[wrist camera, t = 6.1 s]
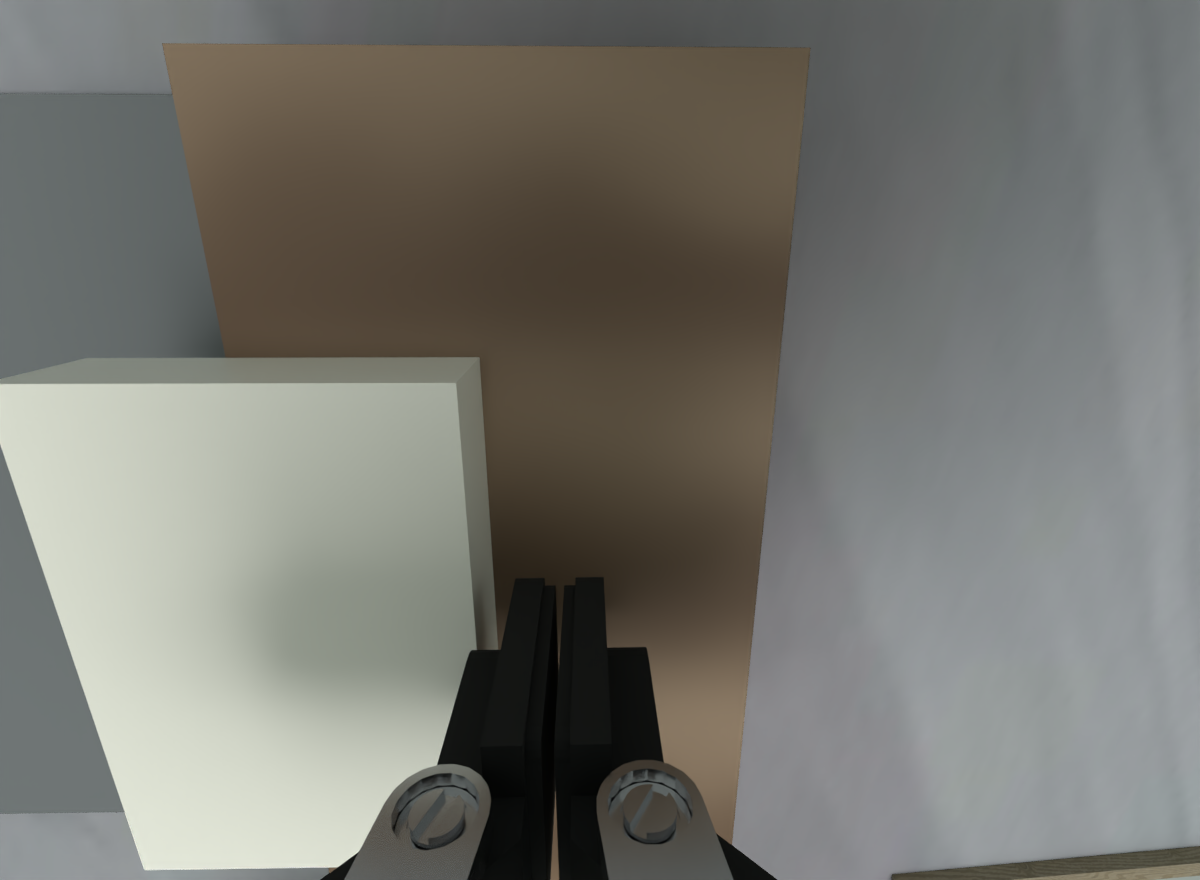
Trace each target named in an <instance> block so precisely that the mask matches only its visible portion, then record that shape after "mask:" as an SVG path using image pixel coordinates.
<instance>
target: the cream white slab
mask: <svg viewBox="0 0 1200 880" xmlns="http://www.w3.org/2000/svg"><path fill="white" fill-rule="evenodd" d="M0 445H1V448H2V451H3V454H4V457H5V460H6V463H7V466H8V469H9V472H10V475H11V478H12V481H13V484H14V487H15V490H16V493H17V496H18V499H19V501H20V504H21V507H22V510H23V513H24V516H25V519H26V522H27V525H28V528H29V531H30V534H31V537H32V540H33V543H34V546H35V549H36V552H37V555H38V558H39V561H40V564H41V566H42V569H43V572H44V575H45V578H46V581H47V584H48V587H49V590H50V593H51V596H52V599H53V602H54V605H55V608H56V611H57V614H58V617H59V620H60V623H61V626H62V628H63V631H64V634H65V637H66V640H67V643H68V646H69V649H70V652H71V655H72V658H73V661H74V664H75V667H76V670H77V673H78V676H79V679H80V682H81V685H82V688H83V691H84V693H85V696H86V699H87V702H88V705H89V708H90V711H91V714H92V717H93V720H94V723H95V726H96V729H97V732H98V735H99V738H100V741H101V744H102V747H103V750H104V753H105V755H106V758H107V761H108V764H109V767H110V770H111V773H112V776H113V779H114V782H115V785H116V788H117V791H118V794H119V797H120V800H121V803H122V806H123V809H124V812H125V815H126V818H127V820H128V823H129V826H130V829H131V832H132V835H133V838H134V841H135V844H136V847H137V850H138V853H139V856H140V859H141V862H142V865H143V868H144V870H194V869H262V868H330V867H339V866H340V865H341V864H343V863H344V862H346V861H347V860H348V859H350V858H351V857H352V856H354V855H355V854H357V853H358V852H359V851H360V849H361V847H362V845H363V843H364V841H365V839H366V837H367V835H368V833H369V832H370V830H371V828H372V826H373V824H374V822H375V820H376V818H377V816H378V814H379V813H380V811H381V809H382V807H383V805H384V803H385V802H386V800H387V799H388V797H389V796H390V795H391V793H392V792H393V790H394V789H395V788H396V787H397V786H398V785H400V784H401V783H402V782H403V781H404V780H405V779H407V778H408V777H409V776H411V775H413V774H415V773H417V772H419V771H421V770H422V769H425V768H429V767H433V766H436V765H437V763H438V760H439V756H440V753H441V749H442V746H443V742H444V739H445V735H446V732H447V728H448V725H449V721H450V717H451V714H452V710H453V707H454V703H455V700H456V696H457V693H458V689H459V686H460V682H461V679H462V675H463V672H464V668H465V665H466V661H467V658H468V655H469V652H470V651H471V650H498V639H497V623H496V607H495V592H494V576H493V561H492V545H491V529H490V514H489V498H488V483H487V467H486V451H485V436H484V420H483V405H482V389H481V373H480V358H479V357H341V358H85V359H81V360H77V361H73V362H69V363H65V364H60V365H56V366H52V367H48V368H44V369H40V370H36V371H32V372H28V373H23V374H19V375H15V376H11V377H7V378H3V379H0Z"/></svg>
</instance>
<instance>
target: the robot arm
mask: <svg viewBox="0 0 1200 880" xmlns="http://www.w3.org/2000/svg"><path fill="white" fill-rule="evenodd" d="M555 791H556V813H557V838H558V864H559V880H777V879H775V878H774V877H773V876H772V875H770V874H769V873H768V872H766V871H765V870H764V869H762V868H761V867H760V866H758V865H757V864H756V863H755V862H753V861H752V860H751V859H749V858H748V857H747V856H745V855H744V854H743V853H741V852H740V851H739V850H737V849H736V848H735V847H734V846H732V845H731V844H730V843H728V842H727V841H726V840H724V839H723V838H722V837H720V836H719V835H718V834H717V833H716V832H715V829H714V827H713V824H712V821H711V819H710V816H709V813H708V811H707V808H706V805H705V803H704V800H703V797H702V795H701V793H700V792H699V790H698V788H697V786H696V785H695V783H694V782H693V781H692V780H691V779H690V778H689V777H688V776H687V775H686V774H685V773H684V772H683V771H681V770H679V769H678V768H676V767H674V766H672V765H670V764H668V763H664V759H663V752H662V746H661V739H660V732H659V725H658V718H657V712H656V705H655V698H654V691H653V684H652V677H651V671H650V664H649V657H648V651H647V648H646V647H613V648H607V635H606V614H605V594H604V577H576V578H575V585H564V597H563V612H562V627H561V643H560V658H559V663H558V634H557V604H556V586H555V585H547V586H545V579H544V578H516V579H515V582H514V587H513V592H512V597H511V602H510V606H509V611H508V616H507V621H506V625H505V630H504V635H503V640H502V644H501V649H500V650H471V651H470V652H469V655H468V658H467V661H466V665H465V668H464V672H463V675H462V679H461V682H460V686H459V689H458V693H457V696H456V700H455V703H454V707H453V710H452V714H451V717H450V721H449V725H448V728H447V732H446V735H445V739H444V742H443V746H442V749H441V753H440V756H439V760H438V763H437V765H436V766H433V767H429V768H425V769H422V770H421V771H419V772H417V773H415V774H413V775H411V776H409V777H408V778H407V779H405V780H404V781H403V782H402V783H401V784H400V785H398V786H397V787H396V788H395V789H394V790H393V792H392V793H391V795H390V796H389V797H388V799H387V800H386V802H385V803H384V805H383V807H382V809H381V811H380V813H379V814H378V816H377V818H376V820H375V822H374V824H373V826H372V828H371V830H370V832H369V833H368V835H367V837H366V839H365V841H364V843H363V845H362V847H361V849H360V851H359V852H358V853H357V854H355V855H354V856H352V857H351V858H350V859H348V860H347V861H346V862H344V863H343V864H341V865H340V866H339V867H337V868H336V869H335V870H333V871H332V872H330V873H329V874H328V875H326V876H325V877H324V878H322V879H321V880H550V879H551V862H552V844H553V826H554V809H555Z"/></svg>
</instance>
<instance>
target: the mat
mask: <svg viewBox="0 0 1200 880" xmlns="http://www.w3.org/2000/svg"><path fill="white" fill-rule="evenodd" d="M85 358H226V357H225V352H224V347H223V342H222V337H221V332H220V327H219V322H218V317H217V313H216V308H215V303H214V298H213V293H212V288H211V283H210V278H209V273H208V268H207V263H206V258H205V253H204V248H203V243H202V238H201V233H200V228H199V223H198V218H197V213H196V208H195V203H194V198H193V193H192V189H191V184H190V179H189V174H188V169H187V164H186V159H185V154H184V149H183V144H182V139H181V134H180V129H179V124H178V119H177V114H176V109H175V104H174V99H173V95H169V94H0V379H3V378H7V377H11V376H15V375H19V374H23V373H28V372H32V371H36V370H40V369H44V368H48V367H52V366H56V365H60V364H65V363H69V362H73V361H77V360H81V359H85ZM87 812H124V809H123V806H122V803H121V800H120V797H119V794H118V791H117V788H116V785H115V782H114V779H113V776H112V773H111V770H110V767H109V764H108V761H107V758H106V755H105V753H104V750H103V747H102V744H101V741H100V738H99V735H98V732H97V729H96V726H95V723H94V720H93V717H92V714H91V711H90V708H89V705H88V702H87V699H86V696H85V693H84V691H83V688H82V685H81V682H80V679H79V676H78V673H77V670H76V667H75V664H74V661H73V658H72V655H71V652H70V649H69V646H68V643H67V640H66V637H65V634H64V631H63V628H62V626H61V623H60V620H59V617H58V614H57V611H56V608H55V605H54V602H53V599H52V596H51V593H50V590H49V587H48V584H47V581H46V578H45V575H44V572H43V569H42V566H41V564H40V561H39V558H38V555H37V552H36V549H35V546H34V543H33V540H32V537H31V534H30V531H29V528H28V525H27V522H26V519H25V516H24V513H23V510H22V507H21V504H20V501H19V499H18V496H17V493H16V490H15V487H14V484H13V481H12V478H11V475H10V472H9V469H8V466H7V463H6V460H5V457H4V454H3V451H2V448H1V445H0V814H18V813H87Z"/></svg>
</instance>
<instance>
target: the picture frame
mask: <svg viewBox="0 0 1200 880" xmlns="http://www.w3.org/2000/svg"><path fill="white" fill-rule="evenodd" d="M892 880H1200V846H1198V847H1187V848H1176V849H1165V850H1154V851H1143V852H1132V853H1121V854H1110V855H1100V856H1089V857H1078V858H1067V859H1056V860H1045V861H1034V862H1023V863H1012V864H1002V865H991V866H980V867H969V868H958V869H947V870H936V871H925V872H914V873H904V874H893V875H892Z"/></svg>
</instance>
